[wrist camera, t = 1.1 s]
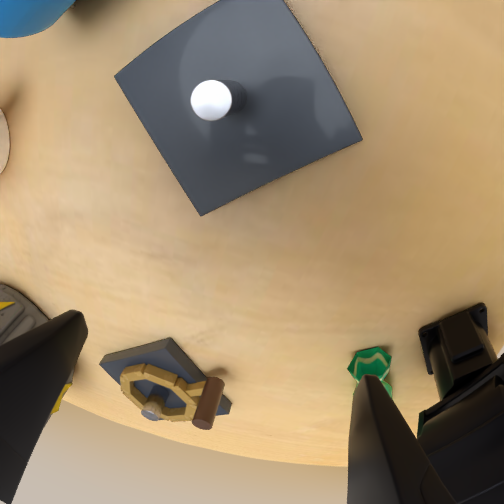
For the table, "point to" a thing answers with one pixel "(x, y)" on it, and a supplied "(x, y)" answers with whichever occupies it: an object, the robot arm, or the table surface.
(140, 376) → the ring
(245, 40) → the near stand
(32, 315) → the decorative lamp
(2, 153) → the mug
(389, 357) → the candy
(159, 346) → the far stand
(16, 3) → the alarm clock
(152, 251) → the table surface
